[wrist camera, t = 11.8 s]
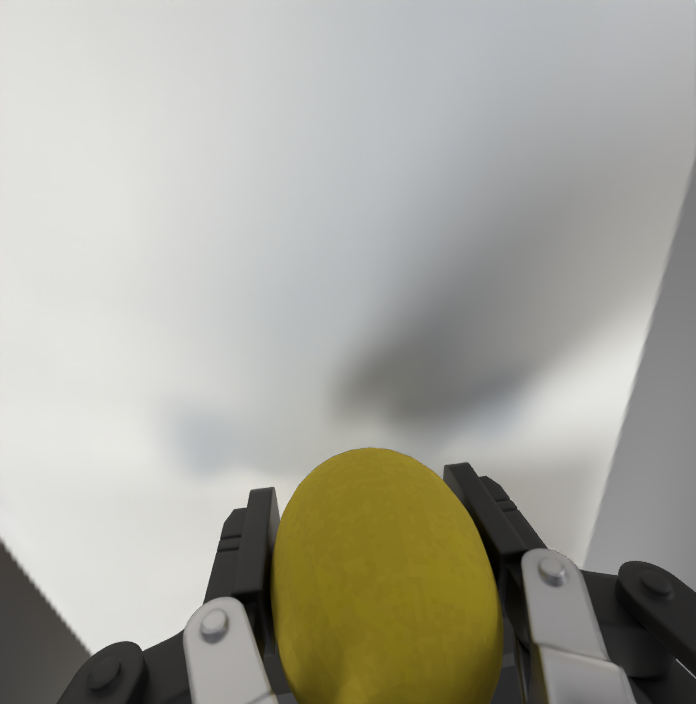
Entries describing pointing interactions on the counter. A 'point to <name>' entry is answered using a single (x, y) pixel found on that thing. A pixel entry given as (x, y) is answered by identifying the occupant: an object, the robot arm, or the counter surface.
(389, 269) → the counter surface
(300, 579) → the lemon
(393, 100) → the counter surface
